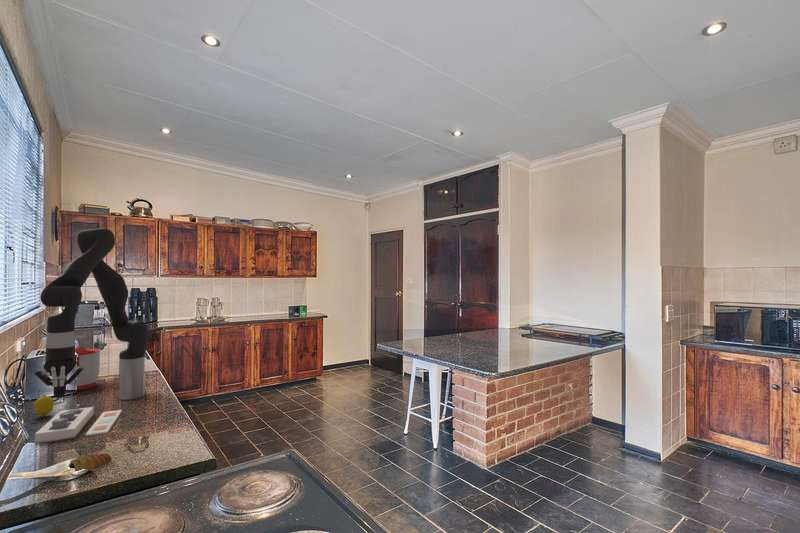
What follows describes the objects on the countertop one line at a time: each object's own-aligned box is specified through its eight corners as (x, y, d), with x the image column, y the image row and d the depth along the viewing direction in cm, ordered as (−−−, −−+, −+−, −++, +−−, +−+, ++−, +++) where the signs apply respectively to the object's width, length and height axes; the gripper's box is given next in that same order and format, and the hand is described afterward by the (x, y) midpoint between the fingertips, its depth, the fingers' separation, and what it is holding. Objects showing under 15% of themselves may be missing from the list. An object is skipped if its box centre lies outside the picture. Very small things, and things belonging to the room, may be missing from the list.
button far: (82, 416, 147) (82, 408, 147) (78, 420, 144) (78, 411, 144) (68, 418, 145) (68, 409, 146) (64, 421, 142) (64, 413, 142)
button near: (69, 426, 135) (69, 417, 135) (65, 430, 131) (65, 421, 131) (54, 428, 133) (54, 419, 133) (49, 432, 129) (50, 423, 129)
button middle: (76, 419, 141) (76, 410, 141) (72, 423, 137) (72, 414, 137) (61, 421, 139) (61, 412, 139) (57, 425, 136) (57, 416, 136)
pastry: (104, 458, 116) (105, 445, 116) (115, 464, 113) (116, 451, 113) (65, 472, 108) (65, 458, 108) (76, 479, 105) (76, 464, 105)
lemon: (41, 419, 145) (42, 398, 145) (29, 418, 146) (30, 397, 147) (57, 414, 151) (57, 393, 151) (45, 413, 152) (46, 392, 152)
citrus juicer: (47, 395, 174) (47, 350, 174) (68, 384, 191) (69, 343, 191) (88, 392, 178) (89, 348, 178) (106, 382, 195) (106, 341, 195)
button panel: (93, 414, 151) (93, 406, 151) (74, 437, 130) (74, 428, 130) (60, 418, 146) (60, 410, 147) (34, 443, 126) (34, 433, 126)
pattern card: (122, 411, 155) (122, 409, 155) (107, 433, 134) (107, 430, 134) (103, 413, 152) (103, 411, 152) (85, 436, 131) (85, 434, 131)
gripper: (88, 342, 138) (87, 391, 138) (39, 344, 133) (38, 396, 133) (81, 345, 132) (80, 397, 131) (30, 348, 126) (28, 403, 126)
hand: (59, 397), depth 132 cm, fingers closed
